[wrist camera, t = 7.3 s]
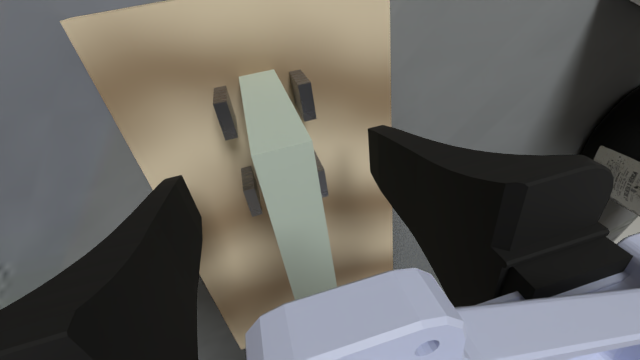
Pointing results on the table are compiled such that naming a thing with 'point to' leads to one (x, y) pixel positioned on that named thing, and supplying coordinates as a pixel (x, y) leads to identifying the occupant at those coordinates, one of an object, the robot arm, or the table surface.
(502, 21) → the table surface
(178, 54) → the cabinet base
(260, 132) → the pale green flat block
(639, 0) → the ink cartridge box
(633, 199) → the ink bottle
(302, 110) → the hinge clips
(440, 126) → the table surface
